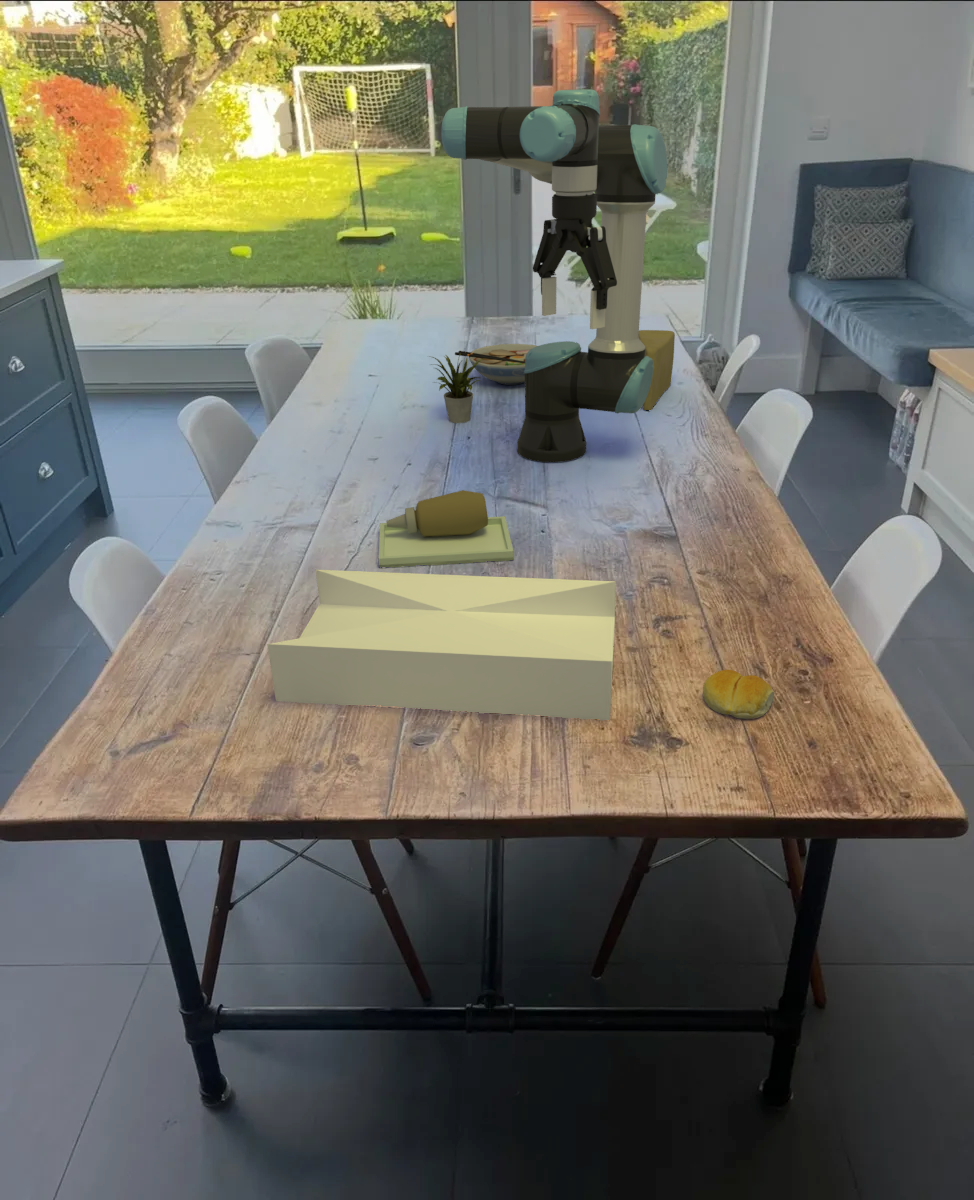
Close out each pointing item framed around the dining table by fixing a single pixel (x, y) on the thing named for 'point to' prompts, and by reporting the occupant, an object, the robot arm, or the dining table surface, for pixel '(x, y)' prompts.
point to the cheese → (658, 362)
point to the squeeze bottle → (445, 515)
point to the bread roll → (737, 694)
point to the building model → (454, 644)
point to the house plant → (458, 391)
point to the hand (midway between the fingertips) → (572, 321)
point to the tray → (445, 546)
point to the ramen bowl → (500, 362)
